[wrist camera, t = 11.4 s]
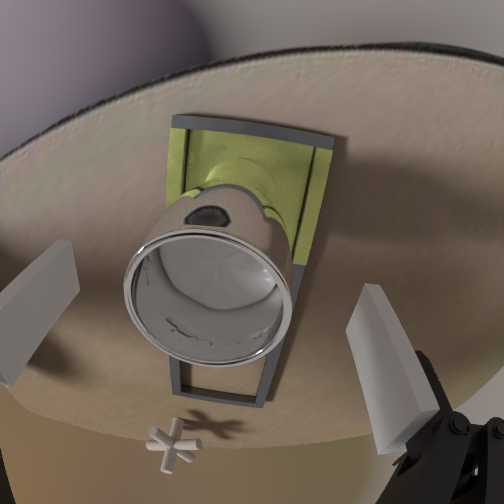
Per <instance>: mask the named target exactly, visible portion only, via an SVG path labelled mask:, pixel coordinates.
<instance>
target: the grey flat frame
mask: <svg viewBox="0 0 504 504" xmlns="http://www.w3.org/2000/svg"><path fill="white" fill-rule="evenodd" d="M189 132H190V138H189ZM334 141H335V138H334V137H332V136H328V135H323V134H318V133H314V132H309V131H304V130H298V129H293V128H287V127H282V126H276V125H269V124H263V123H256V122H249V121H241V120H233V119H224V118H214V117H203V116H190V115H172V125H171V128H170V139H169V151H168V166H167V183H166V207H165V210H166V209H167V208H168V207H169V206H170V205H171V204H172V203H173V202H174V201H175V200H176V199H177V198H179V197H180V196H181V195H182V194H184V191H185V192H187V191H188V190H190V189H192V188H194V187H195V186H197V185H199V184H201V183H204V182H205V179H206V177H207V175H208V174H209V172H210V171H211V170H212V169H213V168H214V167H215V166H217V165H218V164H220V163H222V162H224V161H226V160H230V159H236V158H241V159H248V160H251V161H254V162H256V163H258V164H260V165H261V166H263V167H264V168H265V169H266V170H267V171H268V172H269V174H270V175H271V177H272V178H273V180H274V183H275V186H276V190H277V199H276V204H275V205H276V207H277V208H278V210H279V212H280V214H281V216H282V218H283V220H284V222H285V225H286V228H287V231H288V236H289V240H290V245H291V253H292V313H293V310H294V306H295V303H296V299H297V295H298V292H299V288H300V285H301V281H302V277H303V274H304V270H305V266H306V264H307V260H308V257H309V253H310V249H311V245H312V241H313V237H314V233H315V229H316V225H317V221H318V216H319V212H320V208H321V204H322V199H323V195H324V191H325V186H326V182H327V177H328V173H329V168H330V163H331V158H332V154H333V146H334ZM188 142H189V149H188ZM314 147H315V148H314ZM313 149H314V153H313ZM187 153H188V160H187ZM312 154H313V158H312ZM311 159H312V163H311ZM186 164H187V172H186ZM310 164H311V168H310ZM309 169H310V173H309ZM308 174H309V178H308ZM185 177H186V185H185ZM307 179H308V183H307ZM306 184H307V188H306ZM305 189H306V193H305ZM304 194H305V197H304ZM303 198H304V202H303ZM302 203H303V207H302ZM301 208H302V212H301ZM300 213H301V216H300ZM299 217H300V221H299ZM298 222H299V225H298ZM297 226H298V230H297ZM296 231H297V234H296ZM295 235H296V239H295ZM294 240H295V243H294ZM293 244H294V248H293ZM292 249H293V252H292ZM286 334H287V332H286ZM286 334H285V335H284V337H283V338H282V340H281V341H280V342H279V344H278V345H277V346H276V347H275V348H274V349H272V350H271V351H270V352H269V353H267V354H266V355H264V356H266V360H265V364H264V368H263V371H262V375H261V378H260V382H259V386H258V389H257V393H256V396H255V397H254V396H246V395H238V394H231V393H224V392H218V391H211V390H206V389H200V388H194V387H189V386H184V385H183V384H182V361H181V360H179V359H176V358H174V357H172V356H170V355H169V361H170V373H171V384H172V394H174V395H179V396H184V397H189V398H195V399H200V400H206V401H212V402H218V403H225V404H232V405H239V406H247V407H256V408H263V406H264V403H265V400H266V397H267V394H268V391H269V388H270V385H271V382H272V379H273V376H274V372H275V369H276V366H277V363H278V360H279V357H280V353H281V350H282V347H283V344H284V340H285V337H286Z"/></svg>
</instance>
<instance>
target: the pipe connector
mask: <svg viewBox="0 0 504 504" xmlns="http://www.w3.org/2000/svg"><path fill="white" fill-rule="evenodd" d="M183 425H184V420H183V419H181V418H174V419H173V423H172V427H171V431H170V434H169V436H168V435H167V434H165V433H164V432H163V431H161V430H160V429H159V428H158V427H156V426H153V427H151V428H150V429H149V431H148V434H149V435H150V436H151V437H152V438H154V439H155V440H148V441H147V442H146V447H147V449H149V450H165V454H164V458H163V462H162V466H161V471H162V472H164V473H169V474H172V473H173V468H174V464H175V459H176V455H178V456H180V457H181V458H183V459H184V460H186V461H187V462H192V461H194V459H195V455H194V454H193V453H192V452H190V451H189V450H200V449H202V441H201V440H200V439H182V440H180V438H181V434H182V429H183Z"/></svg>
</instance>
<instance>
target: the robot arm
mask: <svg viewBox="0 0 504 504" xmlns="http://www.w3.org/2000/svg"><path fill="white" fill-rule="evenodd" d="M79 292H80V286H79V281H78V276H77V270H76V265H75V259H74V252H73V245H72V241H70V240H64V239H59V240H57V241H56V242H55V243H54V244H53V245H52V246H50V247H49V248H48V249H47V250H46V251H44V252H43V253H42V254H41V255H40V256H39V257H38V258H36V259H35V260H34V261H33V262H32V263H31V264H30V265H29V266H28V267H27V268H25V269H24V270H23V271H22V272H21V273H20V274H19V275H18V276H17V277H16V278H15V279H14V280H13V281H12V282H11V283H10V284H9V285H8V286H6V287H5V288H3V289H1V290H0V383H1V384H3V385H5V386H7V387H9V388H10V389H11V387H12V386H13V384H14V383H15V381H16V379H17V378H18V376H19V375H20V373H21V372H22V370H23V368H24V367H25V365H26V364H27V362H28V361H29V359H30V358H31V356H32V355H33V353H34V352H35V350H36V349H37V348H38V346H39V345H40V343H41V342H42V340H43V339H44V338H45V336H46V335H47V333H48V332H49V331H50V329H51V328H52V327H53V325H54V324H55V323H56V321H57V320H58V319H59V317H60V316H61V315H62V313H63V312H64V311H65V309H66V308H67V307H68V305H69V304H70V303H71V302H72V300H73V299H74V298H75V297H76V295H77V294H78V293H79ZM345 331H346V335H347V338H348V341H349V345H350V348H351V351H352V355H353V358H354V362H355V365H356V369H357V372H358V376H359V379H360V383H361V387H362V390H363V394H364V398H365V402H366V406H367V410H368V414H369V418H370V422H371V426H372V430H373V434H374V439H375V443H376V447H377V451H378V454H386V453H393V452H397V451H398V450H399V449H400V448H401V447H402V446H404V444H405V445H406V448H407V452H405V453H404V454H403V455H402V456H401V457H400V458H398V459H397V460H396V461H395V462H394V463H393V464H392V465H393V466H395V465H396V464H398V463H399V464H398V466H397V468H396V470H395V472H394V473H393V475H392V477H391V479H390V481H389V482H388V484H387V486H386V487H385V489H384V491H383V493H382V494H381V495H380V497H379V499H378V500H377V502H376V503H375V504H504V420H503V419H501V418H499V417H493V418H492V419H490V420H489V421H488V422H487V423H486V424H485V425H476V424H470V422H469V420H468V419H467V417H466V416H464V415H463V414H461V413H459V412H456V411H453V410H452V408H451V406H450V403H449V401H448V399H447V397H446V394H445V392H444V390H443V388H442V386H441V383H440V381H438V377H437V375H436V373H435V372H434V369H433V367H432V365H431V363H430V361H429V359H428V358H427V357H426V356H425V355H424V354H423V353H422V352H421V351H414V349H413V347H412V345H411V343H410V341H409V339H408V337H407V335H406V333H405V331H404V329H403V327H402V325H401V323H400V321H399V319H398V317H397V316H396V314H395V312H394V310H393V308H392V306H391V304H390V302H389V301H388V299H387V297H386V295H385V293H384V291H383V290H382V288H381V286H380V285H376V284H368V283H365V284H364V286H363V289H362V291H361V294H360V297H359V299H358V302H357V304H356V307H355V309H354V311H353V314H352V316H351V319H350V321H349V323H348V326H347V328H346V330H345ZM476 468H478V474H477V475H476V476H475V469H476ZM0 504H16V503H15V500H14V497H13V494H12V491H11V488H10V485H9V481H8V477H7V474H6V470H5V466H4V462H3V458H2V453H1V449H0Z"/></svg>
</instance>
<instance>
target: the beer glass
mask: <svg viewBox="0 0 504 504" xmlns="http://www.w3.org/2000/svg"><path fill="white" fill-rule="evenodd" d="M276 199H277V190H276V186H275V183H274V180H273V178H272V177H271V175H270V174H269V172H268V171H267V170H266V169H265V168H264V167H263V166H261V165H260V164H258V163H256V162H254V161H251V160H248V159H241V158H236V159H230V160H226V161H224V162H222V163H220V164H218V165H217V166H215V167H214V168H213V169H212V170H211V171H210V172H209V174H208V175H207V177H206V179H205V182H204V183H201V184H199V185H197V186H195V187H194V188H192V189H190V190H188V191H187V192H185V193H184V194H182V195H181V196H180V197H179V198H177V199H176V200H175V201H174V202H173V203H172V204H171V205H170V206H169V207H168V208H167V209H166V210H165V211H164V212H163V214H162V215H161V216H160V218H159V219H158V220H157V221H156V223H155V224H154V225H153V227H152V228H151V230H150V231H149V233H148V235H147V236H146V238H145V239H144V241H143V243H142V244H141V246H140V248H139V249H138V251H137V252H136V253H135V254H134V256H133V257H132V259H131V260H130V262H129V264H128V266H127V269H126V272H125V276H124V281H123V295H124V300H125V304H126V308H127V310H128V313H129V315H130V317H131V319H132V321H133V322H134V324H135V326H136V327H137V328H138V330H139V331H140V332H141V333H142V334H143V335H144V337H145V338H146V339H147V340H149V341H150V342H151V343H152V344H153V345H154V346H156V347H157V348H159V349H160V350H161V351H163V352H165V353H166V354H168V355H170V356H172V357H174V358H176V359H179V360H181V361H184V362H187V363H190V364H194V365H199V366H205V367H233V366H239V365H243V364H246V363H249V362H252V361H254V360H257V359H259V358H261V357H262V356H264V355H266V354H267V353H269V352H270V351H271V350H272V349H274V348H275V347H276V346H277V345H278V344H279V342H280V341H281V340H282V338H283V337H284V335H285V334H286V332H287V330H288V327H289V325H290V322H291V317H292V253H291V245H290V240H289V236H288V231H287V228H286V225H285V222H284V220H283V218H282V216H281V214H280V212H279V210H278V208H277V207H276V205H275V204H276Z"/></svg>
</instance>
